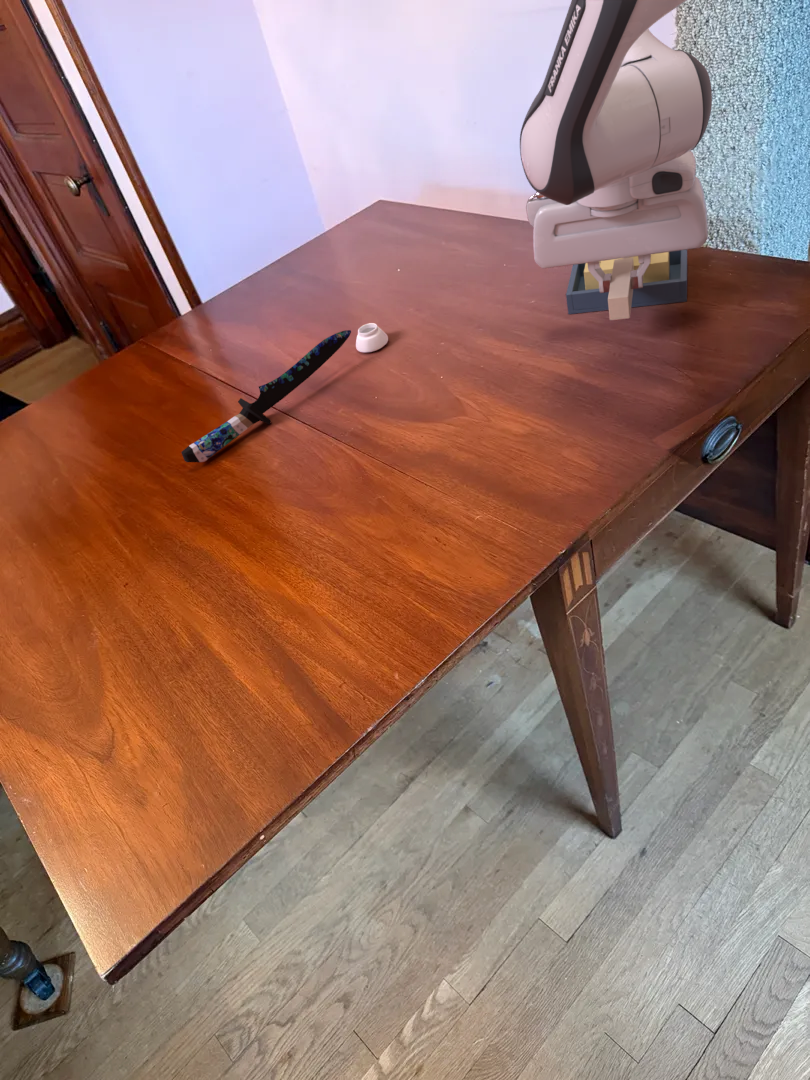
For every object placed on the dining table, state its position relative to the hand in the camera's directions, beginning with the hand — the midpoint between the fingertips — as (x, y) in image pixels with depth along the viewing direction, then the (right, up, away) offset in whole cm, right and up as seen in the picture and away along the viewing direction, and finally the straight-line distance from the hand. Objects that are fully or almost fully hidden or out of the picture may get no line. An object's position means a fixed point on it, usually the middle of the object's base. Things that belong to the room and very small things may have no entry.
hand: (621, 288), depth 94 cm
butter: (+4, +4, +11) cm, 12 cm away
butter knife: (+2, +3, +5) cm, 6 cm away
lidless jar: (-32, -2, +19) cm, 38 cm away
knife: (-45, -13, +12) cm, 48 cm away
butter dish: (+4, +4, +11) cm, 12 cm away
